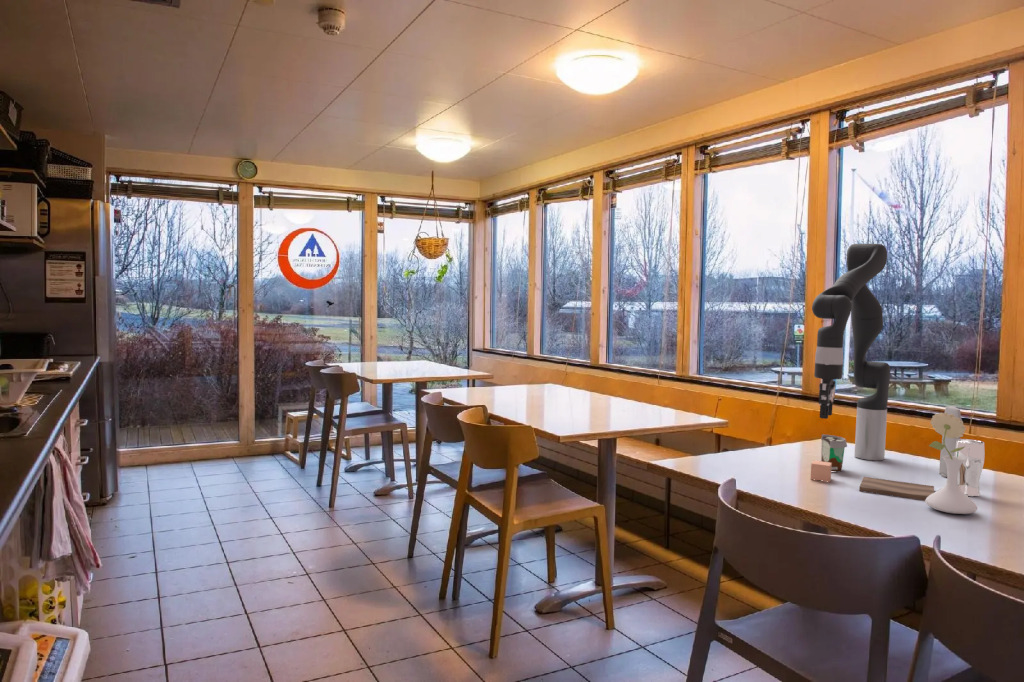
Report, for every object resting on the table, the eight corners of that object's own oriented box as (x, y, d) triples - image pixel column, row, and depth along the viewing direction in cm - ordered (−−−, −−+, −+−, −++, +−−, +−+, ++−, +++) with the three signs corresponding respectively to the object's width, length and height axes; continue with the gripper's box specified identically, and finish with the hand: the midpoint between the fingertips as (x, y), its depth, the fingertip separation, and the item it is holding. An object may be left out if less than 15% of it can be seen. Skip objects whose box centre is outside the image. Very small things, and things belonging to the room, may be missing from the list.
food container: (850, 474, 216) (852, 442, 215) (829, 473, 217) (830, 441, 216) (840, 465, 228) (841, 435, 227) (820, 464, 229) (821, 434, 228)
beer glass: (946, 491, 198) (949, 439, 197) (963, 489, 200) (966, 438, 200) (971, 498, 191) (974, 444, 190) (987, 496, 194) (991, 442, 193)
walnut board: (863, 480, 208) (863, 476, 208) (933, 490, 199) (934, 486, 199) (859, 491, 196) (859, 486, 196) (933, 501, 187) (934, 497, 187)
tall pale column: (964, 481, 210) (969, 409, 209) (950, 480, 211) (954, 408, 210) (947, 472, 221) (951, 403, 220) (933, 472, 221) (937, 403, 220)
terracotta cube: (812, 476, 212) (813, 460, 212) (830, 479, 210) (831, 462, 209) (810, 480, 208) (811, 463, 208) (828, 482, 205) (829, 465, 205)
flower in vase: (988, 516, 175) (994, 417, 174) (952, 519, 172) (959, 418, 170) (942, 501, 187) (948, 409, 186) (908, 504, 184) (914, 410, 183)
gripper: (818, 360, 215) (815, 412, 216) (811, 362, 203) (808, 418, 204) (845, 362, 211) (842, 415, 212) (839, 364, 199) (836, 420, 200)
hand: (825, 416), depth 208 cm, fingers open, 8 cm apart
